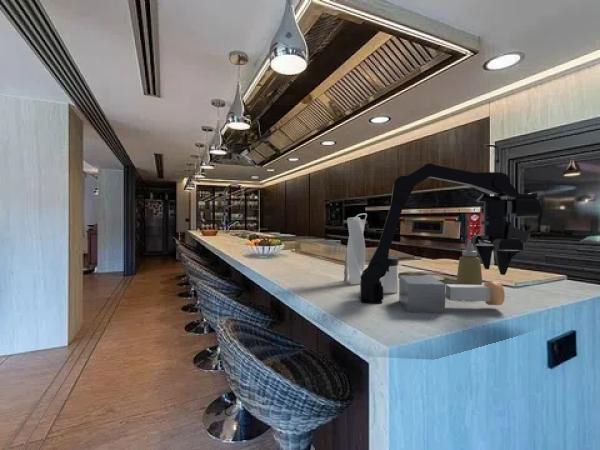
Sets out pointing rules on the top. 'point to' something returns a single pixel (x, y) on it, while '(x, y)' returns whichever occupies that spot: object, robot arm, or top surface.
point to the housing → (422, 294)
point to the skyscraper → (355, 251)
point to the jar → (391, 277)
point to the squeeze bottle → (469, 267)
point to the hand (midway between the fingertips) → (494, 271)
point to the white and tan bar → (477, 293)
